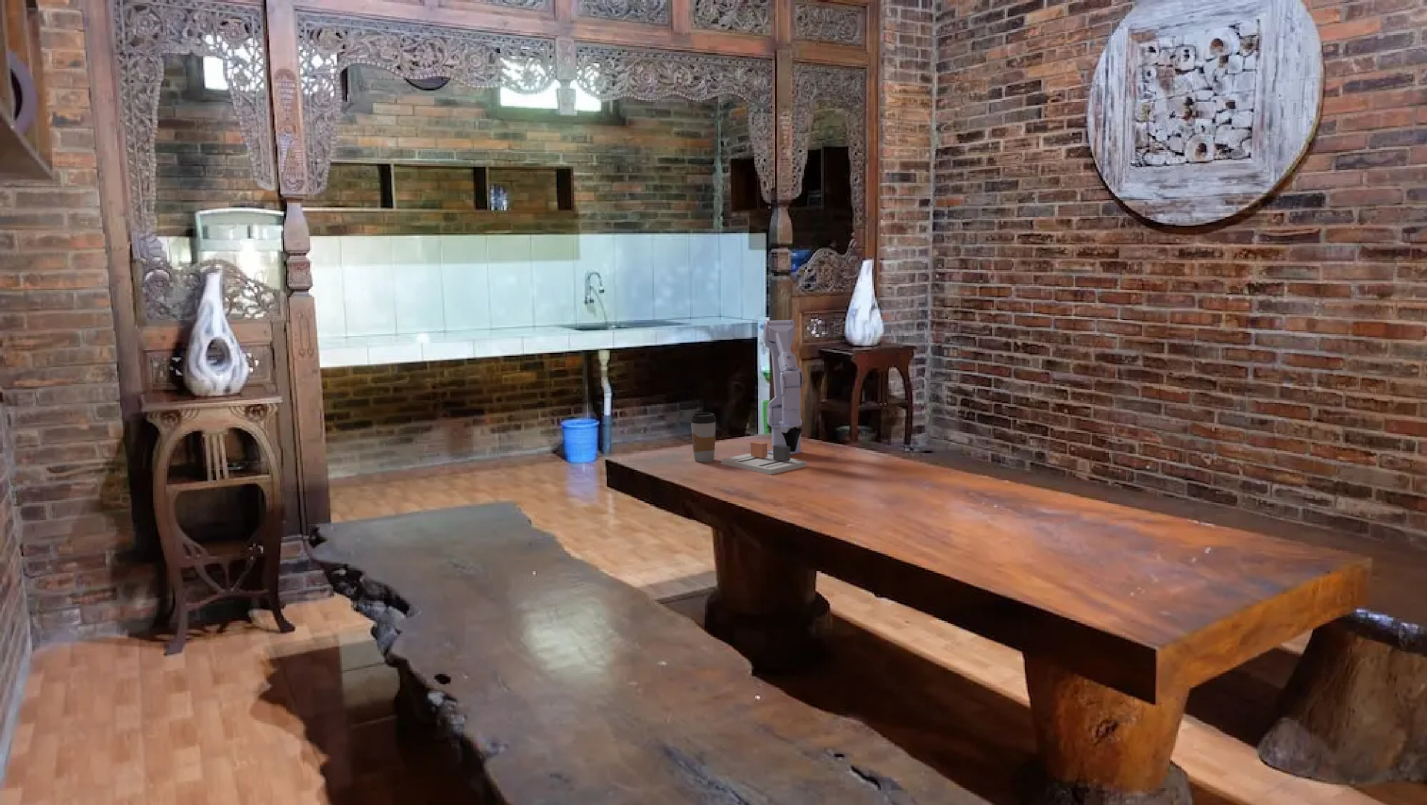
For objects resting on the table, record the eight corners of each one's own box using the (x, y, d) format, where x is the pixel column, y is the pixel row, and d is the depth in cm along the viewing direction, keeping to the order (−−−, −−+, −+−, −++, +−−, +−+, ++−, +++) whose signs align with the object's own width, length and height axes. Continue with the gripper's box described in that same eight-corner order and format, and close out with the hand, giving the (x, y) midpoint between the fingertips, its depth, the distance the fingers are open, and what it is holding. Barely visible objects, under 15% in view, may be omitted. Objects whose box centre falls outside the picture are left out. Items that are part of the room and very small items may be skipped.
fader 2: (778, 458, 310) (778, 444, 310) (790, 460, 307) (790, 446, 306) (773, 459, 309) (773, 445, 308) (784, 461, 305) (784, 447, 304)
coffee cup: (687, 459, 320) (686, 413, 318) (710, 456, 324) (709, 411, 322) (697, 464, 313) (696, 417, 311) (721, 461, 316) (720, 415, 314)
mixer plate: (757, 456, 323) (757, 451, 323) (806, 466, 307) (806, 461, 307) (721, 464, 312) (720, 459, 312) (770, 474, 296) (770, 469, 296)
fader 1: (756, 454, 316) (756, 441, 316) (767, 456, 313) (767, 443, 312) (750, 455, 315) (750, 442, 314) (761, 458, 311) (761, 444, 310)
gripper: (787, 404, 316) (787, 446, 318) (771, 411, 303) (771, 455, 305) (808, 405, 314) (808, 447, 316) (792, 412, 300) (793, 456, 302)
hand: (791, 451), depth 310 cm, fingers closed
